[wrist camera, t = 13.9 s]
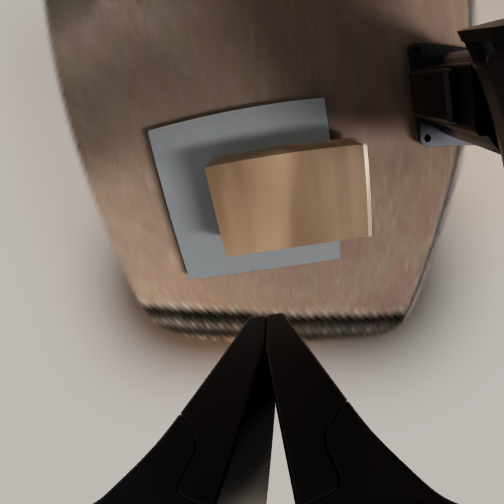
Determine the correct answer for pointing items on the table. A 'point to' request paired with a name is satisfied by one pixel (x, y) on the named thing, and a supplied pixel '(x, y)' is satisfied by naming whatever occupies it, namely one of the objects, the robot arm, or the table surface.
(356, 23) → the table surface
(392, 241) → the table surface
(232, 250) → the slab
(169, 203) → the mat
